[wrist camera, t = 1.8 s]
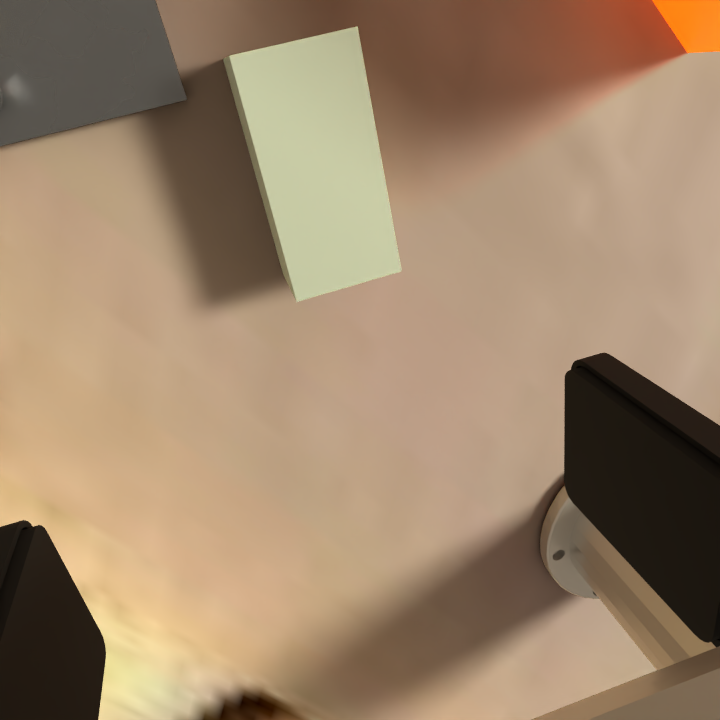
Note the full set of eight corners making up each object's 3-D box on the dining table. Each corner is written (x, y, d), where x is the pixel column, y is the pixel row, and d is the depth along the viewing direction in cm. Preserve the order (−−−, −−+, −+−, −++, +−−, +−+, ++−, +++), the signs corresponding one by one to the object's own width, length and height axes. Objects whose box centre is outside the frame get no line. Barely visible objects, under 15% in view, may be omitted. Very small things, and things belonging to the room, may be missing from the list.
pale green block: (332, 34, 24) (357, 26, 21) (374, 247, 28) (401, 271, 25) (222, 59, 23) (229, 55, 20) (282, 273, 28) (296, 301, 24)
